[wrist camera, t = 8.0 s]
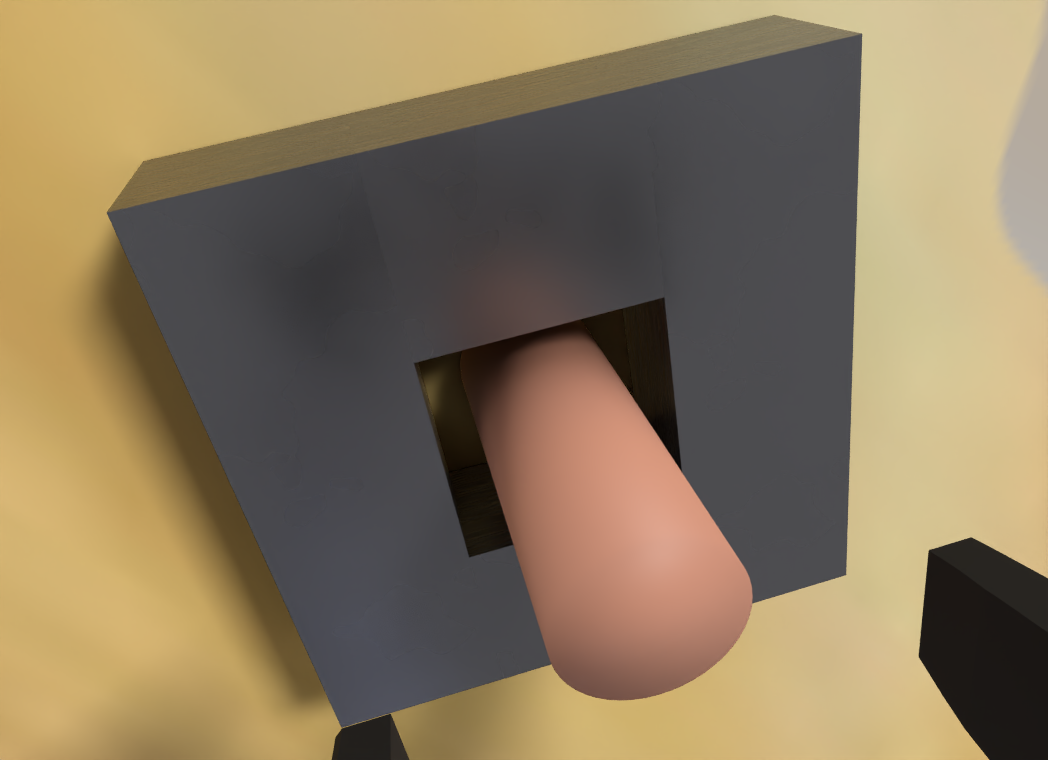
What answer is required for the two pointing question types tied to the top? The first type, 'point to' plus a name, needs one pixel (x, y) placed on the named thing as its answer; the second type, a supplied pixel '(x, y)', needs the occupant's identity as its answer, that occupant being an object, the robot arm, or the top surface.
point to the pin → (602, 519)
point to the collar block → (515, 324)
